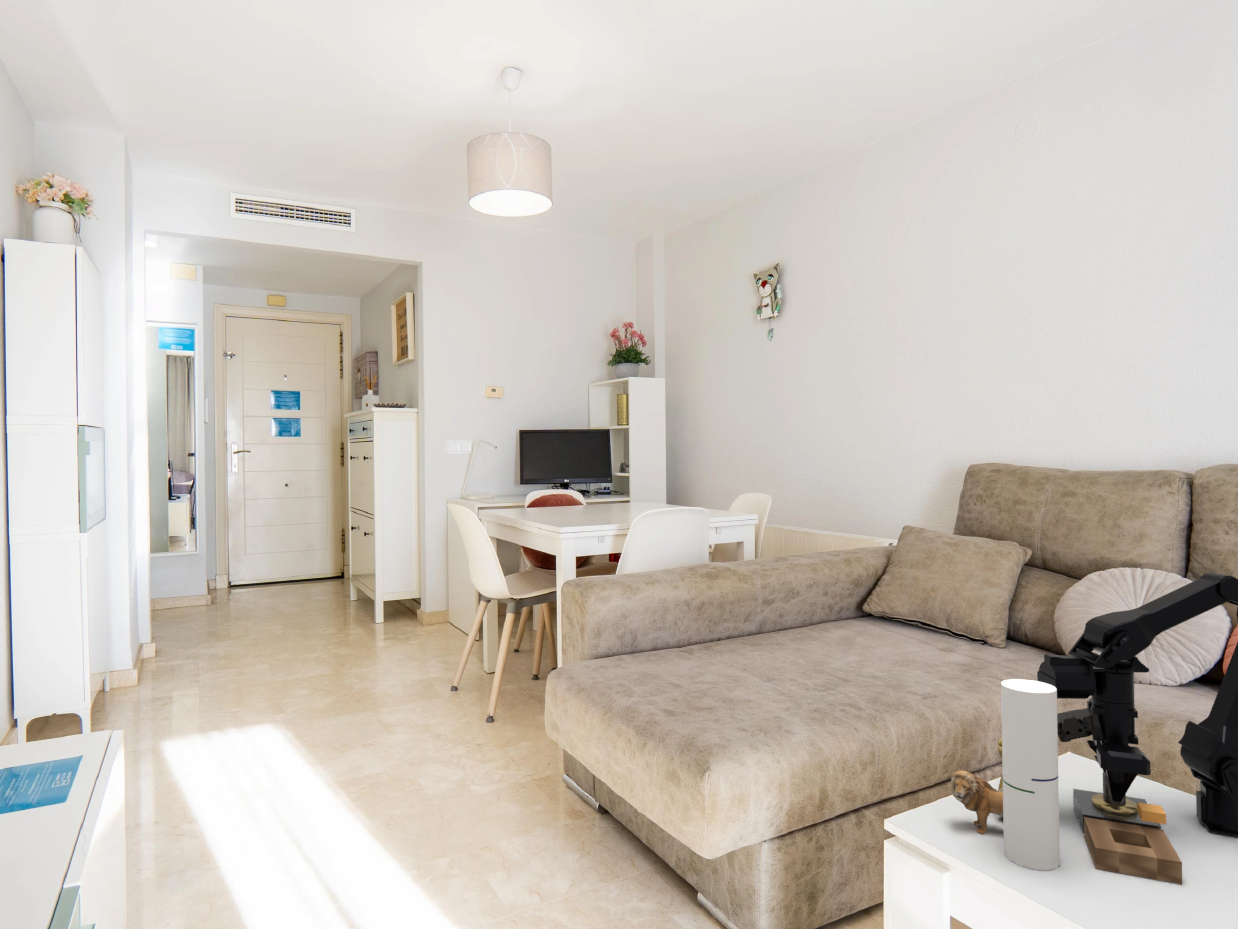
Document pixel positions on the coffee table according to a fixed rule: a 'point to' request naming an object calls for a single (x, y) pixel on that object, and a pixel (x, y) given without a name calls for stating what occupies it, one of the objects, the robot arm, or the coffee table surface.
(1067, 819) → the coffee table surface
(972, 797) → the lion figurine
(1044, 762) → the cylindrical container
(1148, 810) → the cardboard box
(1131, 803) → the dark flanged cylinder
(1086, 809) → the socket block
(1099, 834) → the rack block
